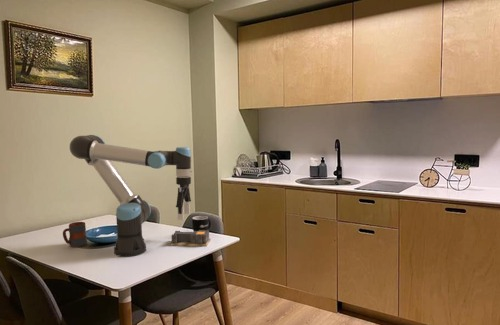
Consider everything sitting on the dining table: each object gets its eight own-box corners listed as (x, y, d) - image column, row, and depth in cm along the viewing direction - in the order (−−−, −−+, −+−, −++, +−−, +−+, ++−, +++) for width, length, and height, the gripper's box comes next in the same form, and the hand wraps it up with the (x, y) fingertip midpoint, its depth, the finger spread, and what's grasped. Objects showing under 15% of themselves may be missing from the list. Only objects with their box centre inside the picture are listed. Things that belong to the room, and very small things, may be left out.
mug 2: (199, 238, 208) (198, 220, 207) (189, 235, 214) (188, 217, 213) (215, 233, 217) (215, 216, 216) (205, 231, 223) (205, 214, 222)
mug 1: (59, 247, 195) (58, 225, 194) (81, 241, 204) (80, 220, 203) (68, 250, 190) (66, 227, 189) (90, 244, 199) (89, 222, 198)
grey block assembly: (170, 245, 195) (170, 234, 195) (175, 240, 205) (175, 229, 205) (206, 246, 194) (206, 235, 193) (210, 240, 204) (210, 229, 203)
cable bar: (173, 242, 198) (173, 233, 197) (176, 239, 202) (175, 231, 202) (203, 242, 197) (203, 234, 196) (205, 240, 201) (205, 231, 201)
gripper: (184, 180, 184) (185, 222, 186) (195, 173, 209) (196, 211, 211) (169, 179, 184) (170, 222, 186) (182, 173, 209) (182, 211, 211)
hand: (183, 216), depth 198 cm, fingers open, 13 cm apart
